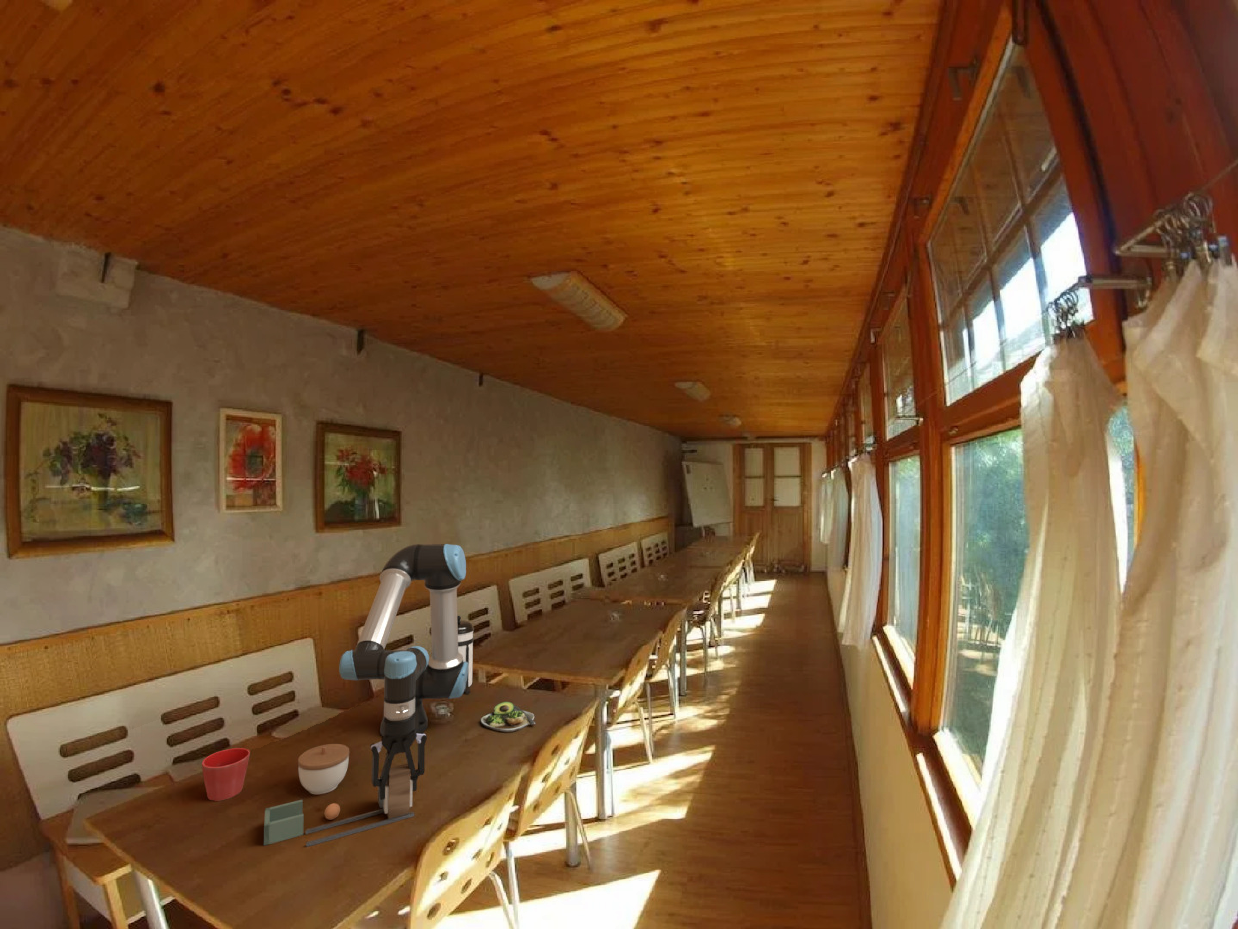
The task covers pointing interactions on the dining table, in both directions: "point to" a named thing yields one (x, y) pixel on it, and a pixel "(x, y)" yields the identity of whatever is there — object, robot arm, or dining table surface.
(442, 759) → the dining table surface
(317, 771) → the lidded bowl
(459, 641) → the coffee press
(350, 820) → the guide rails
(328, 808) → the brown egg
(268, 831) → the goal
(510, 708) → the avocado toast plate
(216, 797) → the flower pot
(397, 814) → the brown boxy piece
